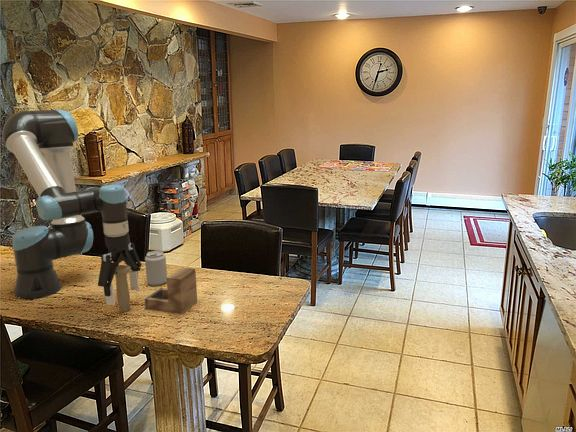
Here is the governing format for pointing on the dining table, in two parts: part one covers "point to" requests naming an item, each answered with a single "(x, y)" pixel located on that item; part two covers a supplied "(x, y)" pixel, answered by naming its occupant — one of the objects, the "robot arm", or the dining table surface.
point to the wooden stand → (175, 293)
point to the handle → (122, 287)
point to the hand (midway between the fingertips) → (123, 296)
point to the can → (156, 268)
